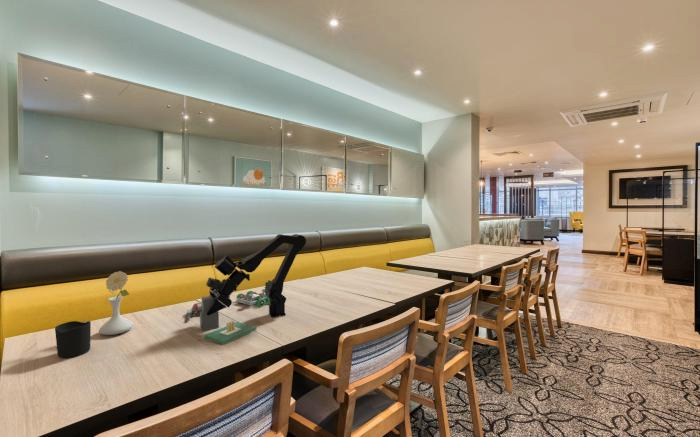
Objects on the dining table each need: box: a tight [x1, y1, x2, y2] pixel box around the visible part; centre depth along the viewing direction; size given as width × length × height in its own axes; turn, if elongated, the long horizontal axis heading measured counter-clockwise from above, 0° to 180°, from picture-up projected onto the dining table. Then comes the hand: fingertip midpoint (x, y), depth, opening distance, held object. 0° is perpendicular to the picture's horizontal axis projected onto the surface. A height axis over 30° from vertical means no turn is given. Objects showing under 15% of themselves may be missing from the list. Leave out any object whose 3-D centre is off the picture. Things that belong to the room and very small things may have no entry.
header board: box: [203, 320, 257, 345], centre depth 131 cm, size 16×11×5 cm
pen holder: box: [54, 320, 92, 359], centre depth 114 cm, size 9×9×10 cm
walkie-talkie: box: [186, 302, 202, 322], centre depth 154 cm, size 9×4×20 cm
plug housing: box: [199, 295, 220, 331], centre depth 138 cm, size 7×4×12 cm
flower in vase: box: [98, 270, 134, 336], centre depth 132 cm, size 13×11×25 cm
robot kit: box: [236, 281, 271, 308], centre depth 176 cm, size 19×25×9 cm
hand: (205, 311), depth 137 cm, fingers open, 8 cm apart
